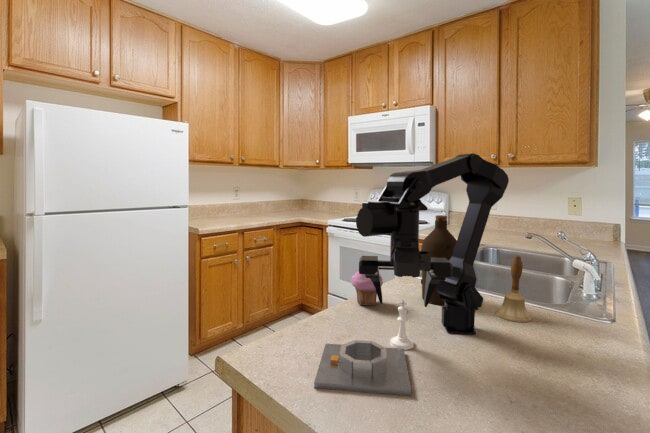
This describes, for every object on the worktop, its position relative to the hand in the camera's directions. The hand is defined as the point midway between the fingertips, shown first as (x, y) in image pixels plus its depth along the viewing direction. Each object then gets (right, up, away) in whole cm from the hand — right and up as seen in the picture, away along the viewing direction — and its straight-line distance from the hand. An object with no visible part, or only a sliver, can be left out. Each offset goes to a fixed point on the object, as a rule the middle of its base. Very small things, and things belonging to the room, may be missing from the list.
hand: (403, 305), depth 72 cm
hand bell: (+32, -7, +16) cm, 37 cm away
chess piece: (0, -9, +1) cm, 9 cm away
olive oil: (+17, -6, +28) cm, 34 cm away
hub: (-10, -10, -9) cm, 16 cm away
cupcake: (-5, -6, +26) cm, 27 cm away
